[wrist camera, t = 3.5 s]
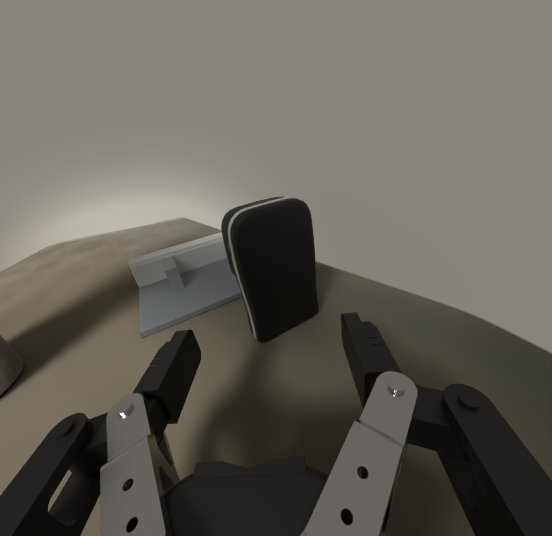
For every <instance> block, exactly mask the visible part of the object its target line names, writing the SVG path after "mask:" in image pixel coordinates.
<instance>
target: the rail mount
mask: <svg viewBox="0 0 552 536" xmlns="http://www.w3.org/2000/svg"><path fill="white" fill-rule="evenodd" d="M128 266H129V268H130V270H131V272H132V274H133V276H134V279H135V281H136V283H137V285H138V287H139V331H140V335H141V337H142V338H143V337H146V336H148V335H151V334H153V333H155V332H158V331H160V330H163V329H165V328H167V327H170V326H172V325H175V324H177V323H179V322H182V321H184V320H187V319H189V318H191V317H194V316H196V315H199V314H201V313H204V312H206V311H208V310H211V309H213V308H216V307H218V306H220V305H223V304H225V303H228V302H230V301H232V300H235V299H237V298H240V297H242V294H241V291H240V288H239V284H238V281H237V278H236V276H235V275H234V274H233V273H232V272H231V269H230V265H229V262H228V258H227V254H226V250H225V245H224V241H223V236H222V232H220V233H217V234H213V235H210V236H206V237H203V238H200V239H196V240H193V241H189V242H186V243H182V244H179V245H176V246H172V247H169V248H165V249H162V250H158V251H155V252H152V253H148V254H145V255H141V256H138V257H134V258H131V259H129V262H128Z"/></svg>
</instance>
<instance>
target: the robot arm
mask: <svg viewBox="0 0 552 536" xmlns="http://www.w3.org/2000/svg"><path fill="white" fill-rule="evenodd" d="M341 327H342V342H343V347H344V350H345V353H346V357H347V360H348V363H349V366H350V369H351V372H352V375H353V378H354V382H355V385H356V388H357V391H358V394H359V397H360V400H361V404H362V407H363V412H362V414H361V416H360V418H359V420H355V421H354V423H353V425H352V427H351V429H350V431H349V433H348V436H347V438H346V440H345V442H344V444H343V447H342V449H341V451H340V453H339V456H338V458H337V460H336V462H335V464H334V467H333V469H332V471H331V473H330V476H329V477H328V476H327V475H325V474H324V473H322V472H320V471H319V470H317V469H314V468H312V467H309V466H306V463H305V458H304V457H289V458H276V459H274V460H271V461H268V462H266V463H263V464H260V465H258V466H255V467H252V468H244V467H240V466H237V465H233V464H230V463H226V462H223V461H221V462H204V463H197V464H196V468H195V472H194V473H193V474H191V475H189V476H187V477H186V478H184V479H183V480H181V481H180V479H179V477H178V474H177V472H176V468H175V465H174V461H173V458H172V454H171V450H170V447H169V443H168V439H167V436H166V433H165V431H164V430H165V428H166V426H167V424H174V423H177V422H178V419H179V416H180V414H181V411H182V409H183V406H184V403H185V401H186V398H187V395H188V393H189V390H190V387H191V385H192V382H193V379H194V377H195V374H196V371H197V369H198V366H199V364H200V360H201V351H200V348H199V345H198V343H197V340H196V338H195V336H194V333H193V331H192V330H183V331H176V332H175V334H174V335H173V337H172V339H171V340H170V342H166V343H165V344H164V345H163V346H162V347H161V348H160V349H159V350H158V352H157V354H156V355H155V357H154V360H152V362H151V363H150V367H148V368H147V370H146V372H145V373H144V375H143V377H142V378H141V380H140V382H139V383H138V385H137V387H136V388H135V390H134V391H133V393H132V394H129V395H127V396H125V397H123V398H122V399H120V400H119V401H118V402H116V403H115V404H114V405H113V406H112V408H111V409H110V411H109V412H108V413H105V414H102V415H100V416H97V417H94V418H92V419H88V418H87V416H86V415H85V414H83V413H76V414H73V415H71V416H69V417H67V418H65V419H64V420H62V421H61V422H59V423H58V424H57V425H56V426H55V427H54V428H53V429H52V430H51V431H50V432H49V433H48V435H47V436H46V437H45V439H44V440H43V441H42V443H41V444H40V445H39V446H38V448H37V449H36V450H35V452H34V453H33V454H32V456H31V457H30V458H29V459H28V461H27V462H26V463H25V465H24V466H23V467H22V469H21V470H20V471H19V472H18V474H17V475H16V476H15V478H14V479H13V480H12V482H11V483H10V484H9V485H8V487H7V488H6V489H5V491H4V492H3V493H2V495H1V496H0V536H80V535H81V533H82V531H83V529H84V527H85V525H86V522H87V520H88V518H89V516H90V514H91V512H92V510H93V508H94V506H95V504H96V502H97V500H98V497H99V495H100V503H101V536H385V534H386V530H387V526H388V522H389V518H390V514H391V510H392V506H393V502H394V497H395V493H396V488H397V484H398V480H399V477H400V473H401V469H402V465H403V461H404V457H405V453H406V449H407V445H408V443H409V444H413V445H416V446H420V447H423V448H427V449H430V450H434V451H437V453H438V456H439V458H440V460H441V462H442V464H443V466H444V469H445V471H446V473H447V475H448V477H449V479H450V482H451V484H452V486H453V488H454V490H455V492H456V495H457V497H458V499H459V501H460V503H461V505H462V508H463V510H464V512H465V514H466V516H467V518H468V521H469V523H470V525H471V527H472V529H473V531H474V534H475V536H552V481H551V479H550V478H549V477H548V475H547V474H546V473H545V472H544V470H543V469H542V468H541V466H540V465H539V464H538V462H537V461H536V460H535V458H534V457H533V456H532V455H531V453H530V452H529V451H528V449H527V448H526V447H525V445H524V444H523V443H522V441H521V440H520V439H519V438H518V436H517V435H516V434H515V432H514V431H513V430H512V428H511V427H510V426H509V424H508V423H507V422H506V421H505V419H504V418H503V417H502V415H501V414H500V413H499V411H498V410H497V409H496V407H495V406H494V405H493V404H492V402H491V401H490V400H489V399H488V398H487V397H486V396H485V395H484V394H483V393H481V392H480V391H478V390H477V389H475V388H473V387H470V386H467V385H464V384H451V385H449V386H447V387H446V388H445V390H444V391H440V390H435V389H430V388H425V387H421V386H419V385H416V384H414V383H413V382H412V381H411V380H410V379H409V378H408V377H407V376H405V375H403V374H402V373H401V371H400V369H399V368H398V366H397V364H396V362H395V360H394V358H393V357H392V355H391V353H390V351H389V349H388V347H387V345H385V342H384V340H383V338H382V336H381V334H380V333H379V331H378V329H377V328H376V327H375V326H374V325H373V324H372V323H370V322H369V321H367V322H361V320H360V318H359V316H358V314H357V313H356V312H354V313H345V314H341ZM23 365H24V362H23V360H22V359H21V357H20V356H19V355H18V354H17V353H16V352H15V351H14V350H13V348H12V347H11V346H10V345H9V344H8V343H7V342H6V341H5V339H4V338H3V337H2V336H1V335H0V395H1V394H2V393H3V392H4V391H5V390H6V389H7V388H9V387H10V386H11V385H12V383H13V382H14V381H15V380H16V379H17V377H18V376H19V374H20V373H21V371H22V369H23ZM68 469H69V470H70V471H71V472H72V474H71V476H70V477H69V479H68V481H67V482H66V484H65V486H64V487H63V489H62V491H61V492H60V494H59V496H58V497H57V499H56V501H55V502H54V504H53V506H52V507H51V509H50V511H49V512H48V504H49V501H50V499H51V497H52V495H53V493H54V492H55V490H56V489H57V487H58V485H59V484H60V482H61V480H62V479H63V477H64V476H65V474H66V472H67V471H68Z"/></svg>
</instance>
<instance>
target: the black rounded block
mask: <svg viewBox="0 0 552 536" xmlns="http://www.w3.org/2000/svg"><path fill="white" fill-rule="evenodd" d="M221 228H222V236H223V241H224V245H225V250H226V254H227V258H228V262H229V265H230V269H231V272H232V273H233V274H234V275H235V276H236V278H237V281H238V284H239V288H240V291H241V294H242V297H243V300H244V303H245V306H246V310H247V314H248V321H249V324H250V328H251V331H252V333H253V334H254V337H255V338H256V340H258V341H259V342H265V341H267V340H269V339H271V338H273V337H275V336H277V335H279V334H281V333H283V332H285V331H286V330H288V329H290V328H292V327H294V326H296V325H297V324H299V323H301V322H303V321H304V320H306V319H308V318H309V317H311V316H313V315H314V314H316V313H317V312H318V302H317V291H316V268H315V249H314V237H313V227H312V219H311V213H310V210H309V208H308V206H307V204H306V203H305V202H304V201H302V200H301V199H299V198H296V197H274V198H269V199H265V200H260V201H256V202H253V203H249V204H246V205H243V206H239V207H236V208H234V209H232V210H230V211H229V212H227V213H226V215H225V216H224V218H223V220H222V226H221Z"/></svg>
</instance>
